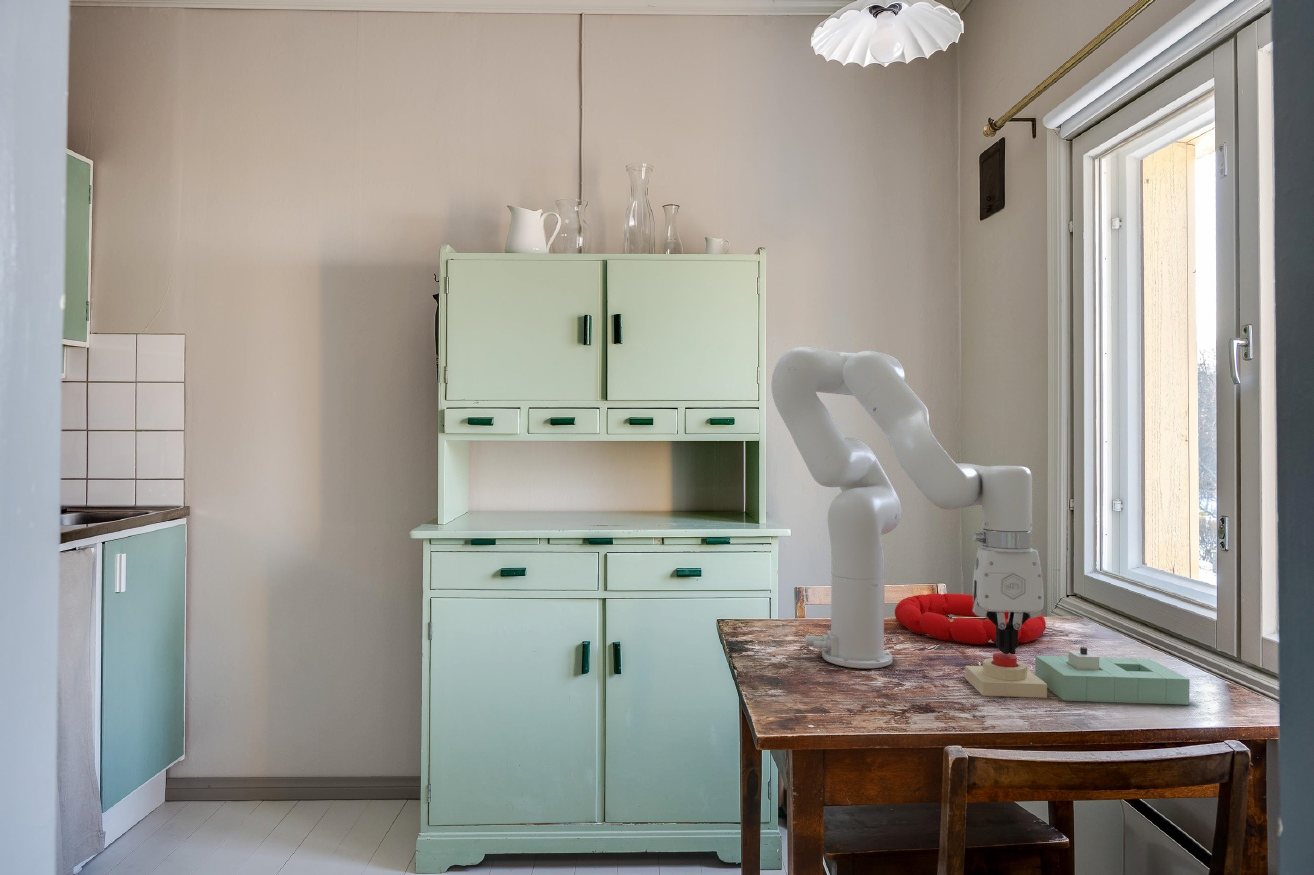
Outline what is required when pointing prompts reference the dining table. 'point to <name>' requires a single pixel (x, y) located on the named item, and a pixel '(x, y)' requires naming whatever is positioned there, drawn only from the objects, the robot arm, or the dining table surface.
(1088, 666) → the white block with knob
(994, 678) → the switch box
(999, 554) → the robot arm
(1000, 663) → the power button
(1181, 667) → the dining table surface
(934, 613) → the decorative ring
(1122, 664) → the green socket board
